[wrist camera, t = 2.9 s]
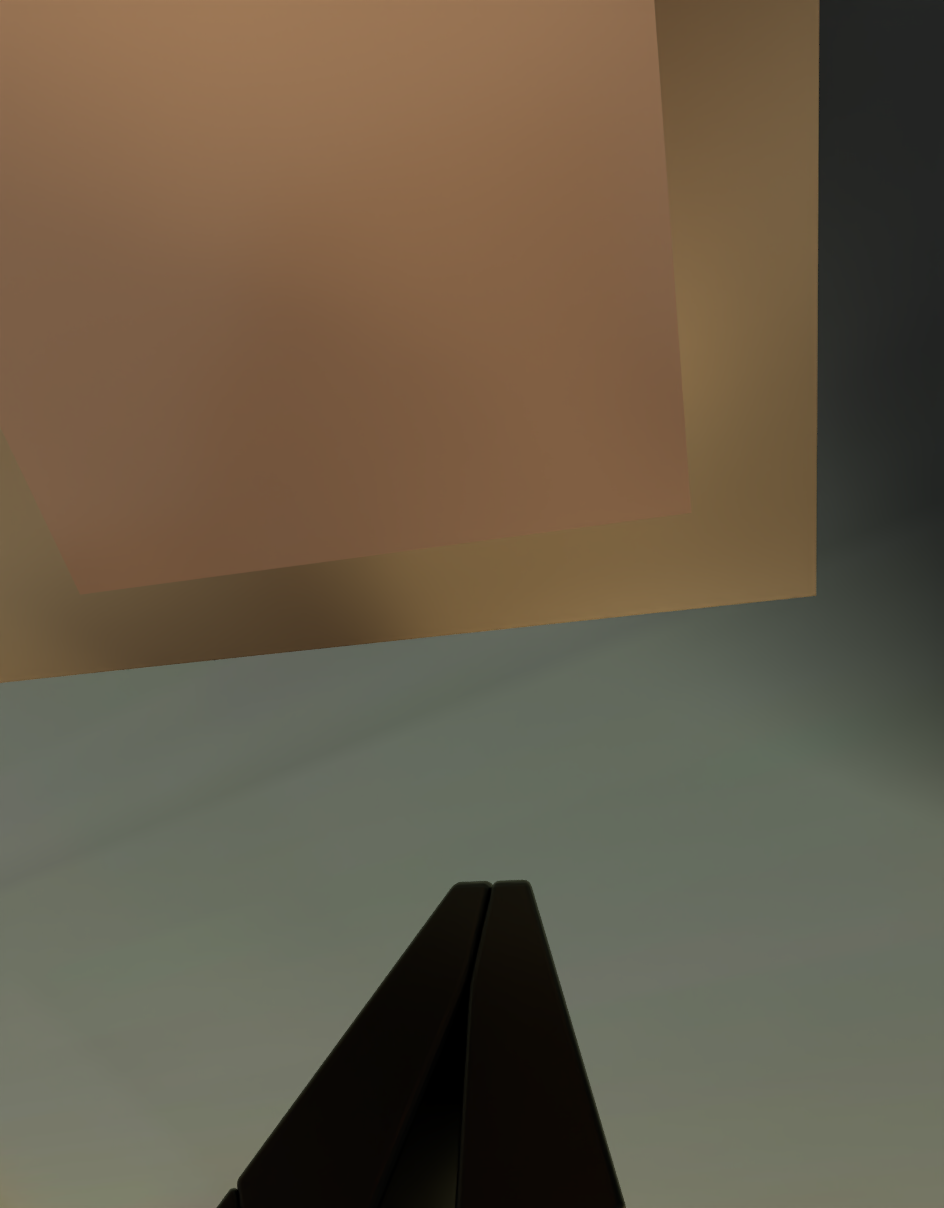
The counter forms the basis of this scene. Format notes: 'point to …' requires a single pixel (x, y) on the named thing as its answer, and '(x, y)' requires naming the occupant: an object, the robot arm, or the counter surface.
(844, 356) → the counter surface
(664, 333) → the terracotta tile
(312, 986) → the counter surface
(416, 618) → the wooden flat block
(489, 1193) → the robot arm
